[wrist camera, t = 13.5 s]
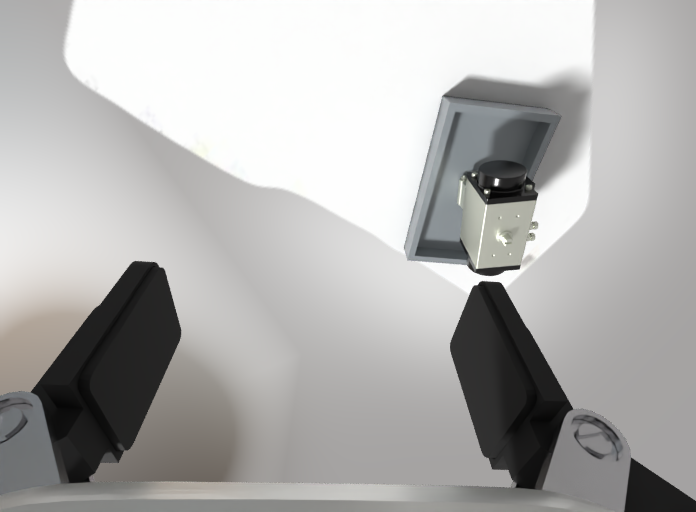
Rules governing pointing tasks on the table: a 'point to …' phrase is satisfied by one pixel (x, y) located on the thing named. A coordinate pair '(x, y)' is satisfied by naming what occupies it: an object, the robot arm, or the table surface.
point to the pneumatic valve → (496, 216)
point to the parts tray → (469, 166)
